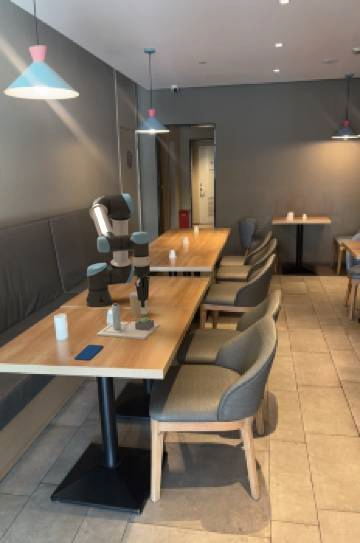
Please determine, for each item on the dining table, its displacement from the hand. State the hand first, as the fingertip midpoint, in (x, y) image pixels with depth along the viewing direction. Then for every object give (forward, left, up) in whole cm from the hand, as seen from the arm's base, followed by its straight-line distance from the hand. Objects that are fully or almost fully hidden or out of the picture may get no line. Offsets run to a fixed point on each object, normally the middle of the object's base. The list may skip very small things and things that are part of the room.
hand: (144, 313), depth 215 cm
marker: (-12, -5, -7) cm, 15 cm away
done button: (0, 0, -5) cm, 5 cm away
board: (-7, -3, -8) cm, 11 cm away
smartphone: (-12, -33, -9) cm, 36 cm away
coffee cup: (-12, +21, -8) cm, 26 cm away
